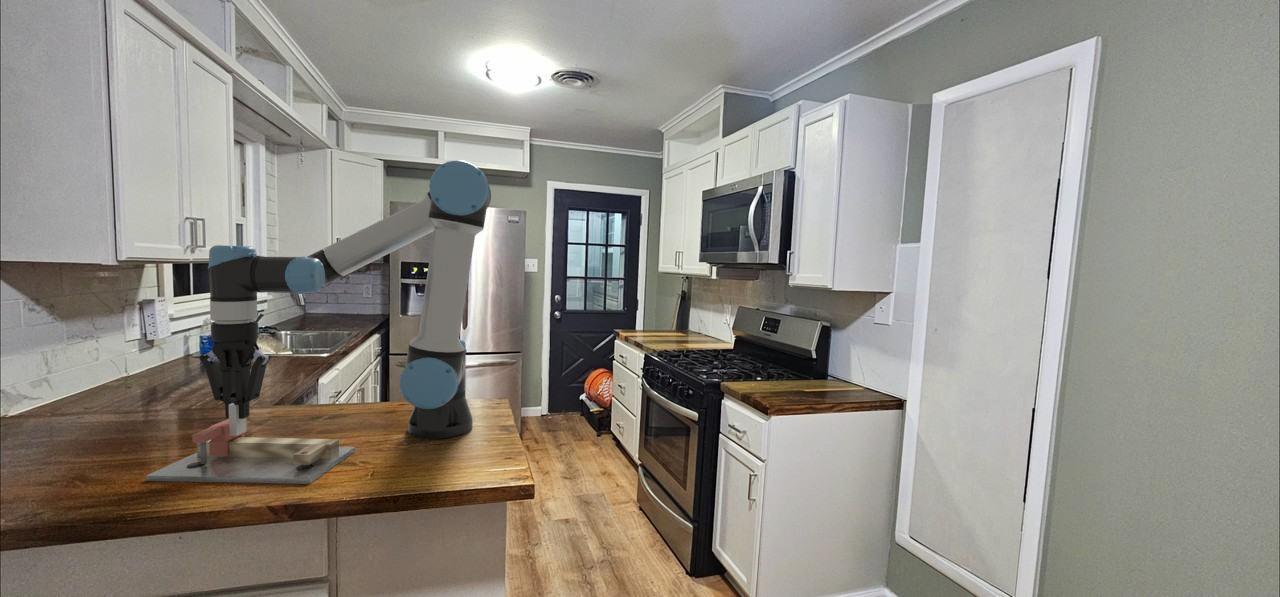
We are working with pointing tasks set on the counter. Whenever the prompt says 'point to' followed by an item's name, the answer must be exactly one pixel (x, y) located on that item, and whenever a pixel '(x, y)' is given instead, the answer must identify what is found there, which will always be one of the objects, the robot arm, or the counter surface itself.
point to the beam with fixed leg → (281, 448)
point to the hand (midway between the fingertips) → (238, 433)
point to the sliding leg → (214, 440)
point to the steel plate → (247, 469)
